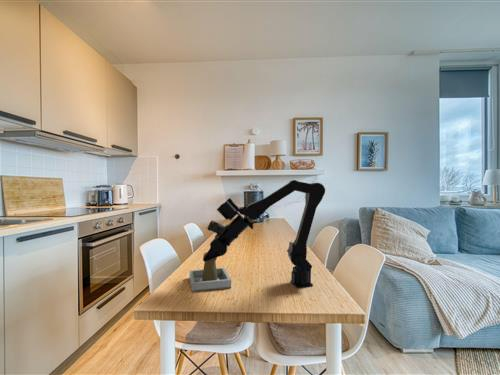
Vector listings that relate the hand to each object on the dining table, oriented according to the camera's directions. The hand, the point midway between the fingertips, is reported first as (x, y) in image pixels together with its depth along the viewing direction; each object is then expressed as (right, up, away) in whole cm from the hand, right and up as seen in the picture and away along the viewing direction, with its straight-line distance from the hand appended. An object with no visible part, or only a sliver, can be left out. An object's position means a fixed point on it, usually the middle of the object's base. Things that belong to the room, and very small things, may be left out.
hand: (205, 257), depth 95 cm
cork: (+2, -9, 0) cm, 10 cm away
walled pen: (+1, -10, 0) cm, 10 cm away
